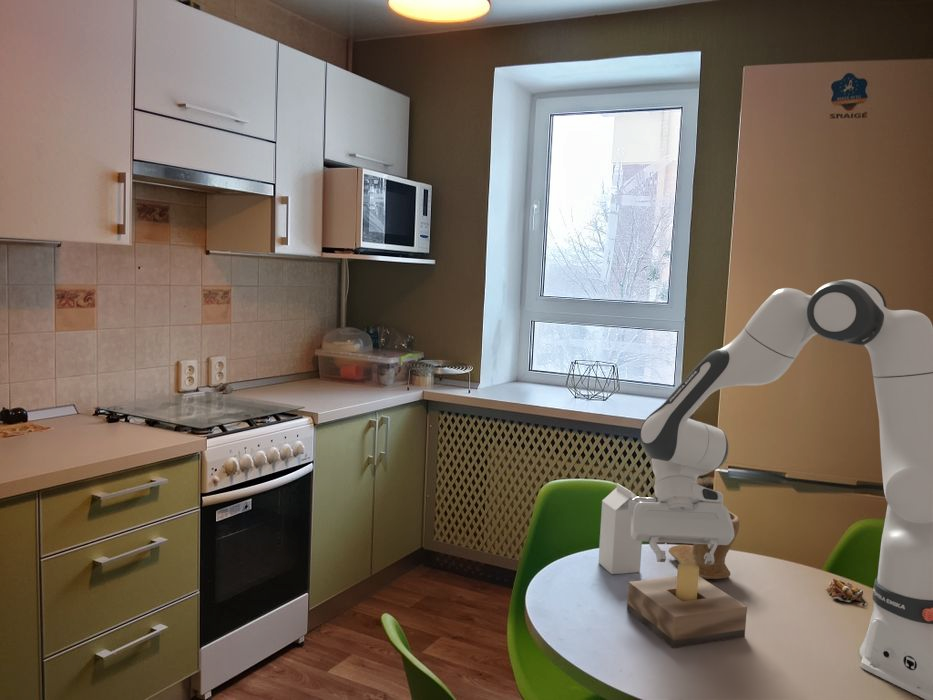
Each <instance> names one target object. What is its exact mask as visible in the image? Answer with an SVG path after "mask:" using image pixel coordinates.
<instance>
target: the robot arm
mask: <svg viewBox="0 0 933 700" xmlns="http://www.w3.org/2000/svg"><path fill="white" fill-rule="evenodd" d="M816 335H819V336H820V337H822V338H823V339H826V340H828V341H832V342H838V343H845V344H850V345H855V346H864V347H865V348H866V350H867V352H868V354H869V357H870V363H871V371H872V372H871V373H872V377H873V385H874V393H875V398H876V406H877V413H878V415H877V416H878V423H879V445H880V449H879V450H880V463H881V473H882V484H883V493H884V496H885V497H884V498H885V501H886V503H887V506H886V507H887V508H886V512H885V518H884V524H883V530H882V535H881V542H880V552H879V559H878V569H877V570H878V571H877V577H876V578H875V579H874V584H873V589H872V600H873V607H872V614H871V617H870V621H869V625H868V629H867V631H866V634H865V637H864V639H863V642H862V644H861V646H860V647H859V655H860V657H861V662H860V667H861V668H862V669H863V670H865V671H867V672H869V673H870V674H872V675H875V676H877V677H878V678H881V679H883V680H885V681H887V682H889V683H890V684H893V685H895V686H897V687H900V688H901V689H903V690H906V691H907V692H909V693H911V694H913V695H915V696H917V697H920V698H921V699H922V700H923V699H924V700H933V324H932V321H931V319H930V318H929V317H928V316H927V315H925V314H924V313H922V312H920V311H916V310H912V309H898V310H897V309H896V310H893V309H889V308H887V302H886V299H885V296H884V295H883V294H882V291H880V290H879V289H878V288H877V287H876V286H874V285H873V284H871V283H869V282H866V281H860V280H857V279H849V278H848V279H841V280H834V281H830V282H828V283H825V284H823V285H821V286H820V287H819V288H818V289H816V290H815V291H814V292H813V294H812V295H810V294H808V293H806V292H804V291H802V290H800V289H796V288H792V287H791V288H790V287H782V288H779V289H776V290H775V291H774V292H772V293H771V295H769V296H768V297H767V299H766V300H765V301H764V302H763V303H762V304H761V305H760V306H759V308H758V309H757V310H756V311H755V312H754V314H753V315H752V316H751V318H750V319H749V320H748V321H747V323H746V325H744V328H743V329H742V330H741V332H739V334H738V335H736V337H734V339H732V340H731V341H730V342H729V343H728V344H726V345H725V346H723V347H721V348H718V349H714V350H712V351H710V352H709V353H708V354H707V355H706V356H705V357H704V358H703V359H702V360H701V361H700V362H699V363H698V364H697V365H696V366H695V367H694V368H693V370H692V371H690V372H689V374H688V375H687V376H686V378H684V379H683V381H682V382H681V383H680V384H679V386H677V387H676V389H674V391H673V392H672V393H671V394H670V396H669V397H668V398H667V399H666V400H665V401H664V402H663V403H662V404H661V405H660V406H659V407H658V408H656V409H655V410H654V411H653V412H652V413H650V414H649V415H648V416H647V417H646V419H645V420H644V421H643V423H642V424H641V427H640V431H639V438H640V443H641V446H642V448H643V450H644V452H645V453H646V454H647V455H648V456H649V458H651V467H652V468H651V469H652V472H653V474H654V478H655V480H654V481H655V482H654V496H655V497H649V496H648V497H647V496H646V497H642V496H637V497H635V499H631V500H630V501H629V503H628V511H629V513H630V515H631V516H632V519H631V537H632V538H633V539H634V540H635V541H642V542H646V543H649V547H650V549H651V550H652V551H653V553H654V554H655V555H656V557H655V558H656V562H658V563H665V562H666V560H667V556H666V550H662V549H661V548H660V546H659V544H658V543H669V544H672V543H673V544H688V545H691V544H708V548H709V549H711V551H710V553H706V554H705V555H704V560H705V564H713V563H714V552H715V550H716V548H717V546H718V545H728V544H729V543H730V542H731V541H732V539H733V538H734V528H733V524H732V520H731V517H730V514H729V512H730V510H728V508H727V506H725V505H724V504H723V502H724V495H723V493H722V492H720V491H717V490H714V489H712V488H707V487H706V486H703V485H701V484H698V480H697V479H698V478H699V477H700V476H701V477H702V476H705V475H708V474H710V473H712V472H714V471H716V470H718V469H719V468H720V467H722V466H723V465H724V463H726V460H727V459H728V454H729V442H728V438H727V435H726V434H725V432H724V431H723V430H722V429H720V428H718V427H716V426H714V425H711V424H708V423H706V422H705V423H704V422H702V421H698V420H695V419H692V418H691V416H692V415H693V414H694V413H695V412H696V410H698V409H699V408H700V407H701V405H702V404H703V403H704V402H705V401H706V400H707V399H708V397H709V396H710V395H712V394H713V393H715V392H716V391H719V390H722V389H723V388H728V387H735V386H739V387H740V386H763V385H768V384H771V383H774V382H775V381H777V380H778V379H780V378H781V377H782V376H783V375H784V374H785V373H786V372H787V371H788V370H789V368H791V366H792V364H793V363H794V361H795V360H796V358H797V357H798V356H799V354H800V352H801V351H802V349H803V348H804V347H805V345H806V344H807V343H808V342H809V341H810V340H811V339H812V338H814V336H816Z"/></svg>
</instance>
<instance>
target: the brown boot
mask: <svg viewBox="0 0 933 700" xmlns="http://www.w3.org/2000/svg"><path fill="white" fill-rule="evenodd" d="M729 514H730V517H731V520H732V524H733V528H734V538H733V539H732V541H731V542H730V543H729V544H728V545H718V546H717V548H716V550H715V552H714V563H713V564H705V560H704V555H705V554H706V553H710V551H711V549H709V548H708V544H693V545H691V544H677V545H674V546H671V547H669V549H668V553H669V554H670V555H671V556H672V557H673V559H675V560H676V561H677V562H678V563H679V564H680V563H690V564H694V565H696V566H698V567H699V576H700V577H701V578H703V579H705V580H706V579H708V580H723V579H727V578H730V576H731V572H730V570H729V568H728V567H727V564H726V563H725V562H726V557H727V555H728V553H729V551H730V549H731V547H732V545H733V544H734V543H735V540H736V537H737V536H738V533H739V530H740V519H739V517H738V515H736V514H735V513H733V512H731V511H729Z"/></svg>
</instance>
